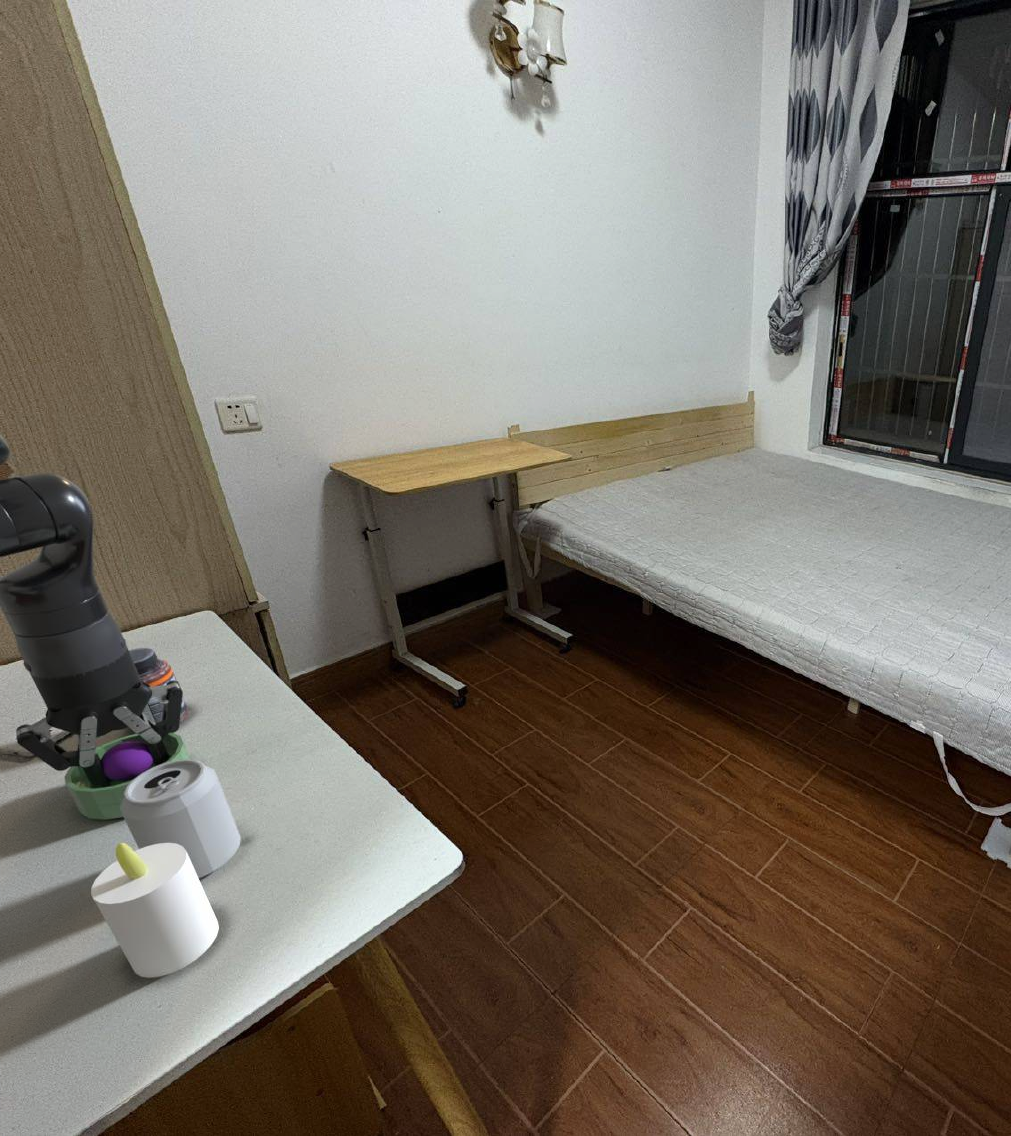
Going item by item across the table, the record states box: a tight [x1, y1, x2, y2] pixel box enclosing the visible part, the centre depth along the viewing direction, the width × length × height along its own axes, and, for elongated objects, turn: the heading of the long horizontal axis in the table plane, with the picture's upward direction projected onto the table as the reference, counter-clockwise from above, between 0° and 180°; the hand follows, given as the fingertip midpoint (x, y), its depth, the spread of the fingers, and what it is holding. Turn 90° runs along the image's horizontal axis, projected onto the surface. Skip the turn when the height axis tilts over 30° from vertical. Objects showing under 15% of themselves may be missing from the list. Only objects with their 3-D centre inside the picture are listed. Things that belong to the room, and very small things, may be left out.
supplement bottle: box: [128, 647, 189, 725], centre depth 84 cm, size 6×6×11 cm
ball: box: [100, 741, 154, 781], centre depth 74 cm, size 5×5×5 cm
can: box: [120, 758, 242, 879], centre depth 66 cm, size 8×8×12 cm
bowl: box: [64, 732, 191, 821], centre depth 75 cm, size 10×10×5 cm
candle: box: [90, 842, 220, 979], centre depth 57 cm, size 6×6×15 cm
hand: (132, 773), depth 75 cm, fingers closed on ball, 4 cm apart
